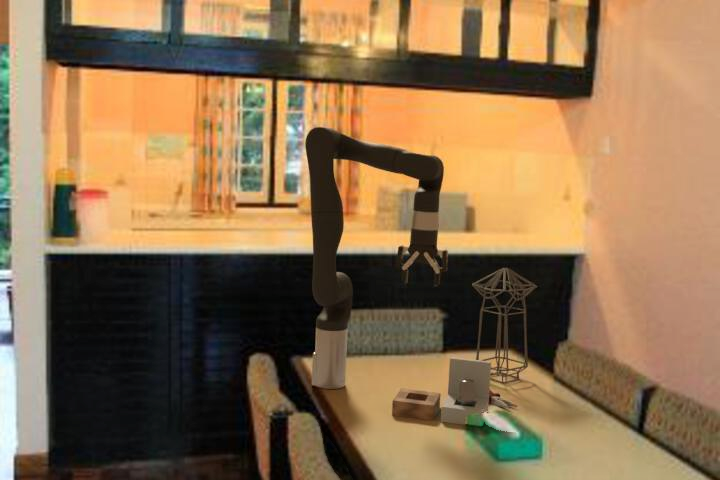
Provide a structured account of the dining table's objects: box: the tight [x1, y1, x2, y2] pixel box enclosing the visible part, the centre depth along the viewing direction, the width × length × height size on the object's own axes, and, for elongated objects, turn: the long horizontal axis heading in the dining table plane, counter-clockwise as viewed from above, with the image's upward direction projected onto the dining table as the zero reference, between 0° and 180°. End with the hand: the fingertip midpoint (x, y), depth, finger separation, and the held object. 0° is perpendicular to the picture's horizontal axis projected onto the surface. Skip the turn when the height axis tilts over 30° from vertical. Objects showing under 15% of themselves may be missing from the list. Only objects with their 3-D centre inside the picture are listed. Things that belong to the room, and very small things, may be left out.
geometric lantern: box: [471, 267, 538, 384], centre depth 239 cm, size 16×16×35 cm
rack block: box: [440, 356, 492, 426], centre depth 203 cm, size 11×12×14 cm
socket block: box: [391, 387, 441, 421], centre depth 207 cm, size 11×11×4 cm
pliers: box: [489, 389, 518, 410], centre depth 219 cm, size 12×20×3 cm, turn 37°
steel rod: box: [457, 379, 474, 407], centre depth 203 cm, size 4×4×10 cm
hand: (420, 284), depth 216 cm, fingers open, 8 cm apart
